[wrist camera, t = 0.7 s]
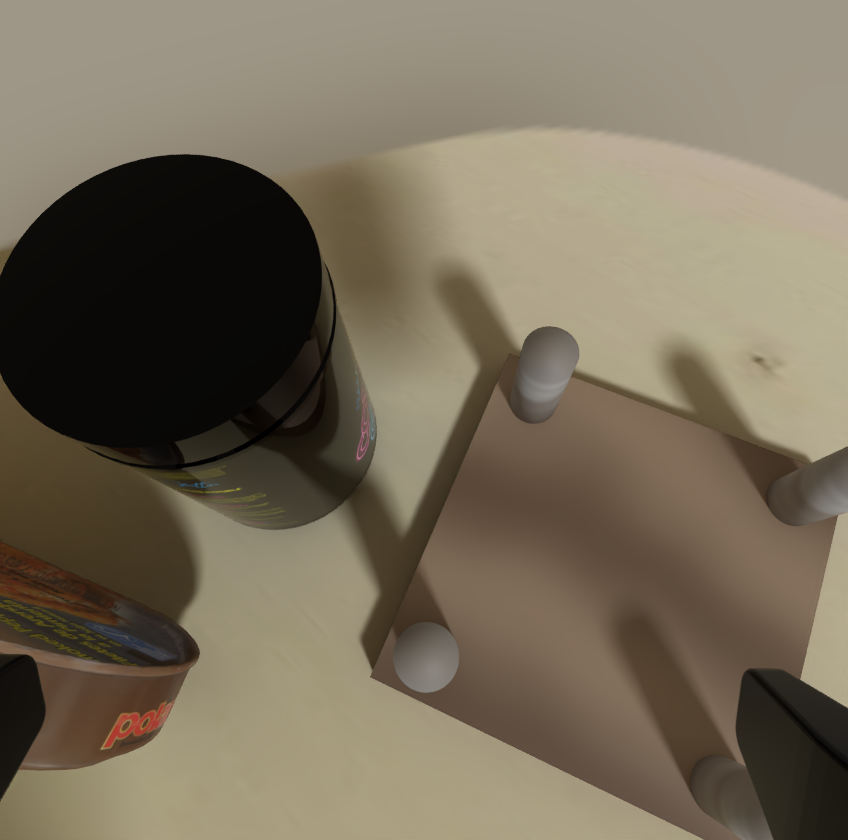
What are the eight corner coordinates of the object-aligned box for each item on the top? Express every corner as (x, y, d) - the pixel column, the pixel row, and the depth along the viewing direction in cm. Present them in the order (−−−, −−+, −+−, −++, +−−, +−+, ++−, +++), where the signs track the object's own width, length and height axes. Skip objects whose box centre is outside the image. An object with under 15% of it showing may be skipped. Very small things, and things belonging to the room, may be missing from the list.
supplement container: (390, 522, 21) (335, 424, 11) (194, 547, 21) (-33, 471, 11) (372, 345, 23) (313, 134, 13) (195, 368, 23) (7, 173, 13)
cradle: (740, 852, 17) (848, 934, 13) (374, 674, 19) (349, 688, 15) (828, 485, 21) (939, 442, 16) (506, 365, 23) (521, 294, 18)
